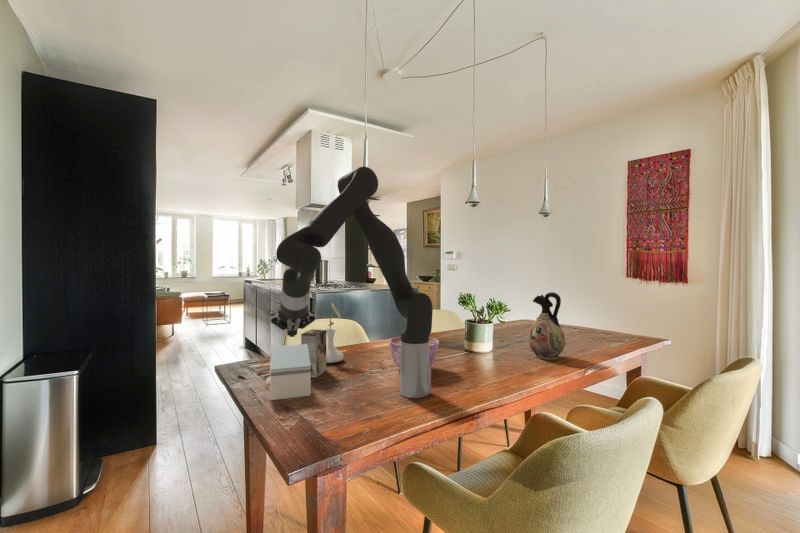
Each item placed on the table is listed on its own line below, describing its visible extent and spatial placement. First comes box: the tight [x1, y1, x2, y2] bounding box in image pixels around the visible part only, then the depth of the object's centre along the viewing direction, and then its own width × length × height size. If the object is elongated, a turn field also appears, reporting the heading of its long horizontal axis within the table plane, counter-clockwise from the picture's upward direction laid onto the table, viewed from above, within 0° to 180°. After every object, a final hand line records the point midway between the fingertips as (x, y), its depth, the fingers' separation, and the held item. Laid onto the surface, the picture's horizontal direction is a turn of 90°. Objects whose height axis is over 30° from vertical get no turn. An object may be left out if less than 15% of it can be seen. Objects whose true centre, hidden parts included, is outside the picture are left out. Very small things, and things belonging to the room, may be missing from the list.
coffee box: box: [300, 329, 327, 378], centre depth 137 cm, size 9×6×16 cm
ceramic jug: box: [528, 291, 566, 361], centre depth 162 cm, size 17×15×30 cm
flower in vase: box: [324, 302, 345, 364], centre depth 154 cm, size 13×11×25 cm
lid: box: [269, 343, 311, 371], centre depth 117 cm, size 12×11×1 cm
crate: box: [269, 361, 312, 401], centre depth 118 cm, size 12×11×9 cm
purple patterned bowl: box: [388, 335, 440, 368], centre depth 143 cm, size 20×20×12 cm
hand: (291, 334), depth 110 cm, fingers closed
